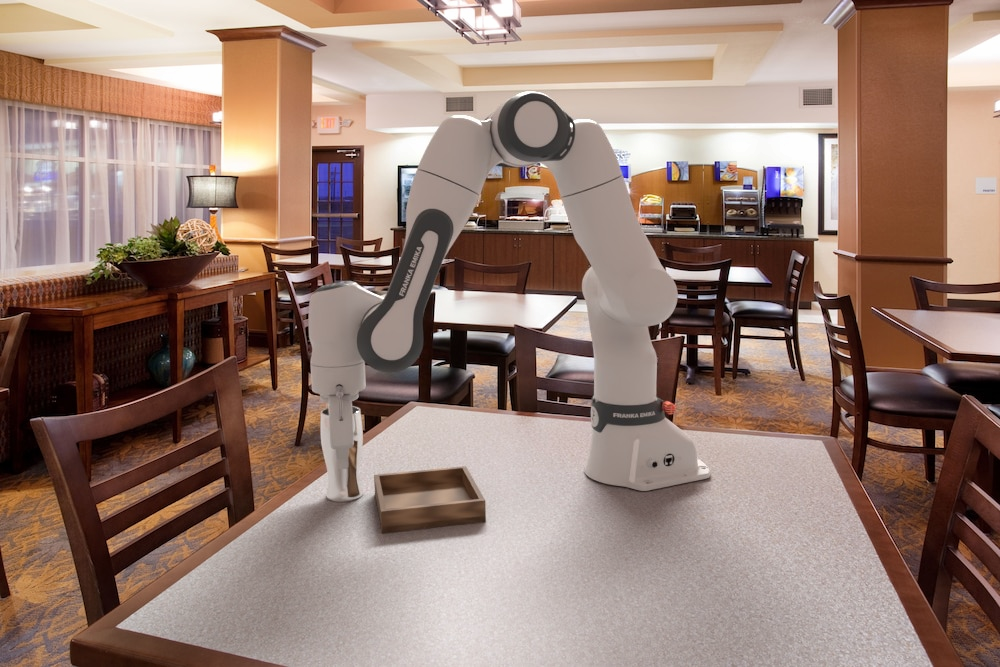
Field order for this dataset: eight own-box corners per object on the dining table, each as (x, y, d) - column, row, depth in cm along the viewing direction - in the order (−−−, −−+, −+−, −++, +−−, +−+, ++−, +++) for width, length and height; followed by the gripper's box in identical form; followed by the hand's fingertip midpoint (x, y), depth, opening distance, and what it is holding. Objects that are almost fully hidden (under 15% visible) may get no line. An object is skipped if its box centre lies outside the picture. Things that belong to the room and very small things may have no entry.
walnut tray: (466, 485, 128) (465, 466, 127) (485, 521, 112) (485, 500, 112) (374, 494, 124) (373, 474, 123) (381, 533, 109) (381, 511, 108)
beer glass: (356, 504, 120) (351, 417, 117) (317, 501, 121) (312, 415, 119) (371, 488, 126) (367, 405, 124) (334, 486, 128) (330, 404, 125)
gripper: (360, 392, 111) (364, 477, 113) (355, 365, 131) (358, 439, 133) (318, 395, 110) (323, 481, 112) (319, 367, 129) (323, 442, 132)
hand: (342, 458), depth 123 cm, fingers open, 8 cm apart
